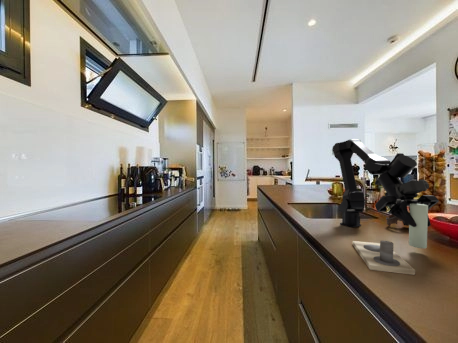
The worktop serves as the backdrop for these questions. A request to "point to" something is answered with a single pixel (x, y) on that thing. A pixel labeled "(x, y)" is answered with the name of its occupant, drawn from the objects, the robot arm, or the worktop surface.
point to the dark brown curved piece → (394, 220)
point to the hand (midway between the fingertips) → (422, 226)
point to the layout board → (379, 266)
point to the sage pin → (418, 226)
